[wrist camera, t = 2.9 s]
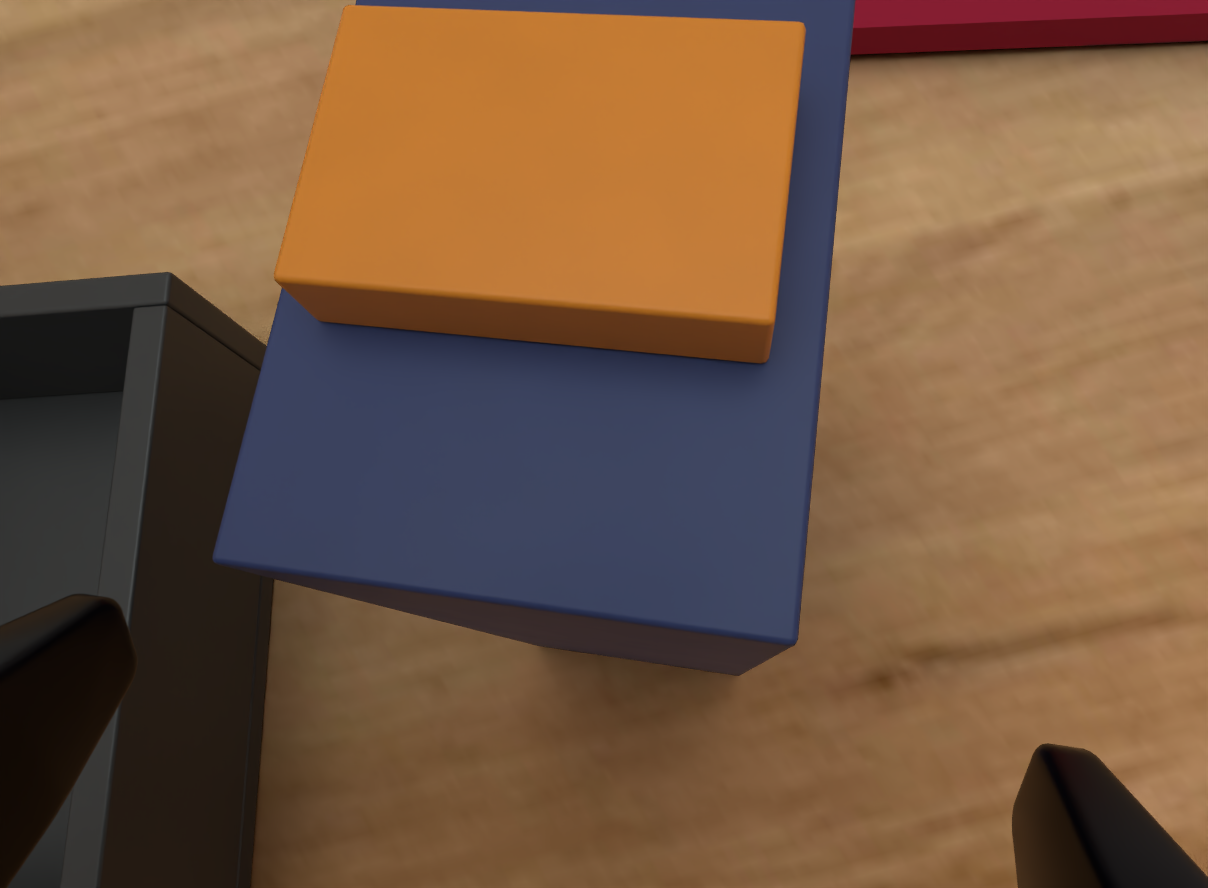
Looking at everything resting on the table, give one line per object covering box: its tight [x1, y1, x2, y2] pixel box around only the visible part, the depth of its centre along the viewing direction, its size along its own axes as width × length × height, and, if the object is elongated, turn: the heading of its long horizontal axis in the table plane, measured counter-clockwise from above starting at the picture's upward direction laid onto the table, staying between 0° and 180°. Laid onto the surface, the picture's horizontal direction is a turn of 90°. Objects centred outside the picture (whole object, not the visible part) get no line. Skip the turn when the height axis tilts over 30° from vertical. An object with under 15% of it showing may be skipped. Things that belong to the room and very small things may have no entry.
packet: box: [213, 0, 856, 676], centre depth 13 cm, size 6×4×14 cm
